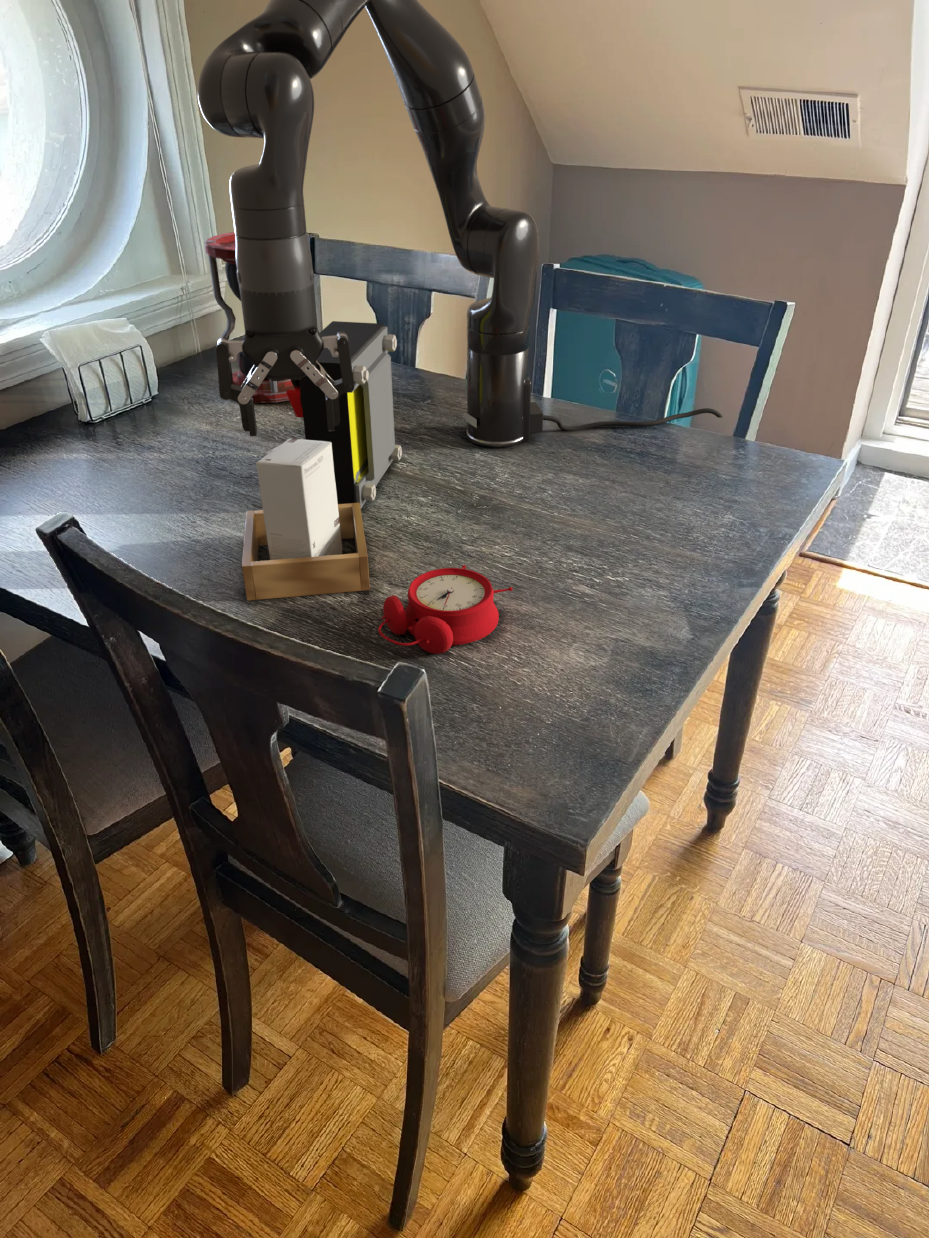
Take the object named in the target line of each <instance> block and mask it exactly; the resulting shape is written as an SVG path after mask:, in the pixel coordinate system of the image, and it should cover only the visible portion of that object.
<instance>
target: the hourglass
mask: <svg viewBox="0 0 929 1238" xmlns="http://www.w3.org/2000/svg"><path fill="white" fill-rule="evenodd" d="M235 235H236V234H235V231H230V232H224V233H220V234H216V235H213V236H211V237H209V238H206V240H205V241H204V243H203V244H204V250H205V253H206V254H207V256H208V263H209V270H210V277H211V285H212V291H213V298H214V299H215V301H216V303H217V305H218V306H219V307H220V308H221V309H222V310H223V311H224V314H225V316H226V327H225V330H224V331H223V333H222V334H221V337H225V338H227V339H228V340H229V341H230V336H231V334H232V333H233V331H234V330H235V327H236V321H237V320H236V319H237V318H236V316H235V313H234V310H233V308H232V307H231V306H230V305H228V304H227V303H226V301H225V300H224V298H223V296H222V291H221V285H220V284H221V283H220V277H219V271H218V270H219V269H218V263H217V259H218V260H222V261H223V262H225V266H224V269H225V270H224V271H225V277H226V281H227V285H228V287H229V288H230V290H231V292H232V293H233V295H234V296H235V297H236V298H237V299H238V300H239V301H240V302H241V297H240V289H239V282H238V280H237V265H236V239H235ZM244 337H245V334H244V335H243V336H242V338H241V339H240V341H243V339H244ZM237 365H238V368H239V370H237V371H234V372H233V370H232V369H233V368H232V367H231V374H232V384H233V385H237V386H240V387H241V385H242V384H243V382H244V381H245V379H246V377H247V376H248V373H249V371H250V370H251V368H252V367H253V365H254V364H253V363H252V362H251V361H250V360H249V359H248V358H247V357H246V356H245V354H244V353H243V352H240V353H238V355H237ZM287 390H295V388H294V386H293V384H292V382H291V379H284V380H280V381H272V380H271V379H268V378H266V377H265V378H264V380H263V382H262V383H261V385H260V386H259V388H258V389H257V390H256V391H255V393H254V394H253V396H252V397H251V398H253V402H254V403H258V404H267V403H268V404H272V403H273V404H274V403H282V402H290V400H289V398H288V395H287V393H286V392H287Z"/></svg>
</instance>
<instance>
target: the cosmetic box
mask: <svg viewBox="0 0 929 1238" xmlns="http://www.w3.org/2000/svg"><path fill="white" fill-rule="evenodd" d="M255 466H256V472H257V478H258V485H259V492H260V493H259V494H260V499H261V507H262V510H263V514H264V521H265V528H266V535H267V542H268V545H267V548H268V555H269V560H279V559H291V558H303V557H316V556H328V555H340V554H343V552H344V551H343V542H342V539H341V531H340V522H339V512H338V502H337V493H336V483H335V475H334V465H333V454H332V443H331V442H326V441H316V440H306V439H304V438H303V439H302V438H291V437H290V438H288V439H286V440H285V441H284V442H282V443H281V444H279V445H278V446H275V447H273V448H272V449H270V450H269V453H267V454H266V455H265V456H263V457H262V458H260V459H259V460H258V461H257V462H256V463H255Z"/></svg>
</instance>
